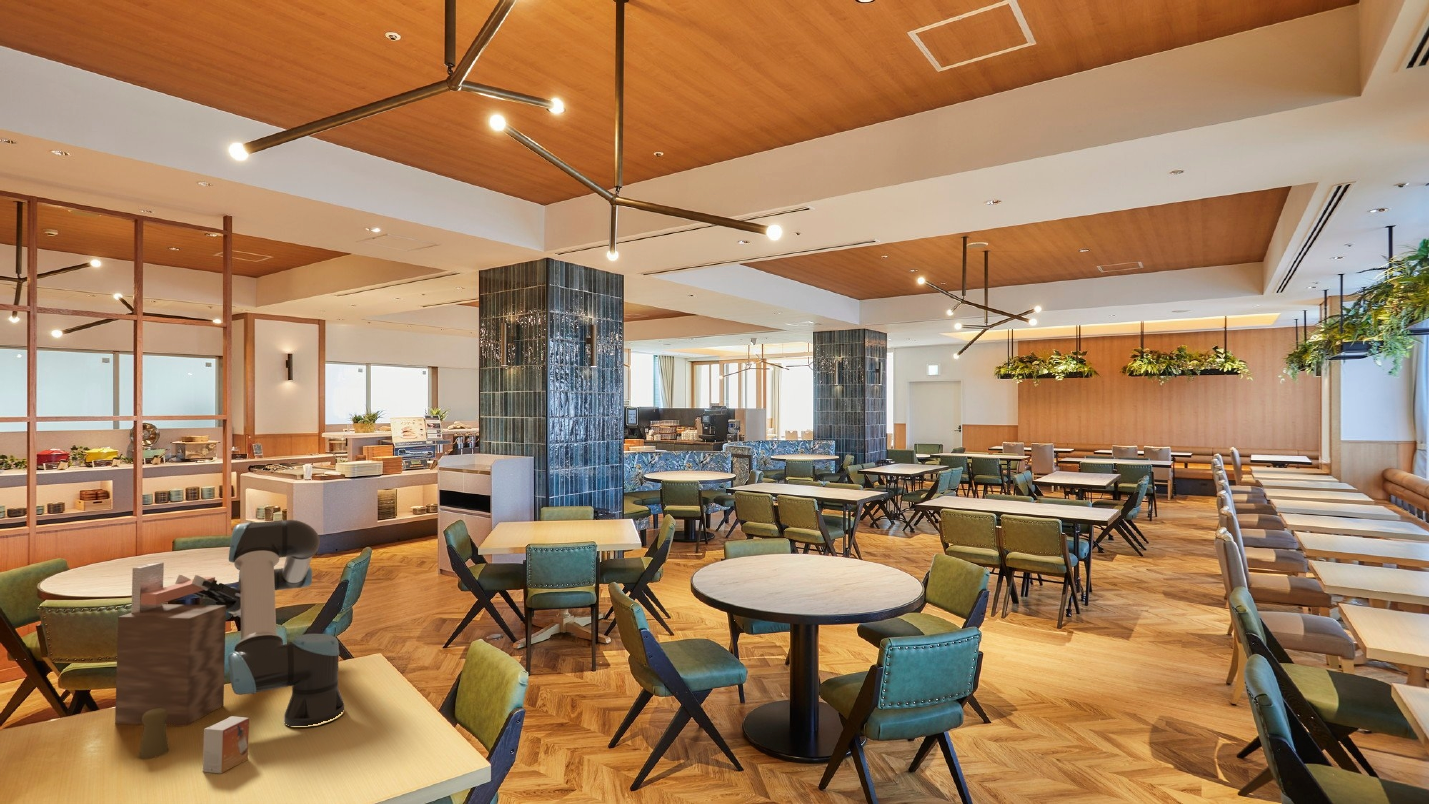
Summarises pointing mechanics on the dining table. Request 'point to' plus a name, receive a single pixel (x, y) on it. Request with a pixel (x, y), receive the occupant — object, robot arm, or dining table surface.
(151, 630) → the wooden block pedestal
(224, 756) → the small box
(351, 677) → the dining table surface
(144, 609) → the bookend
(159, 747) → the cork
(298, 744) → the dining table surface
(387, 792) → the dining table surface
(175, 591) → the terracotta clay brick
